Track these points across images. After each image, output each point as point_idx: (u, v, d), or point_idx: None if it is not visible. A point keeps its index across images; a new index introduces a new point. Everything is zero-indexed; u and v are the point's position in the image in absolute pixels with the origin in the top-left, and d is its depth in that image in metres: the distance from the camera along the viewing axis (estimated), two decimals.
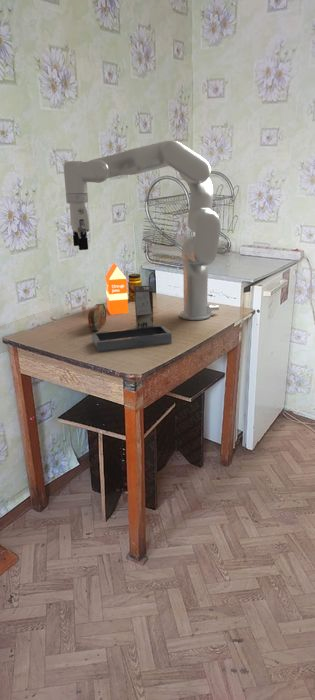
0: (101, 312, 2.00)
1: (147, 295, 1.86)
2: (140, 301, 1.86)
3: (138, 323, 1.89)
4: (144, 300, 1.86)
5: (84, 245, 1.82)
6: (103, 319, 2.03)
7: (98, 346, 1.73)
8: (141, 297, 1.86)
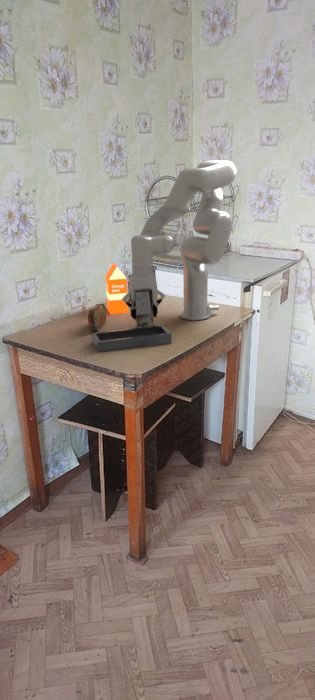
0: (101, 312, 2.00)
1: (147, 295, 1.86)
2: (140, 301, 1.86)
3: (138, 323, 1.89)
4: (144, 300, 1.86)
5: None
6: (103, 319, 2.03)
7: (98, 346, 1.73)
8: (141, 297, 1.86)
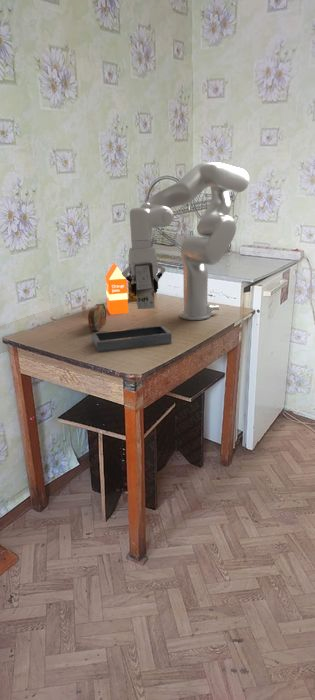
0: (101, 312, 2.00)
1: (147, 269, 1.83)
2: (140, 275, 1.83)
3: (139, 298, 1.86)
4: (144, 274, 1.83)
5: None
6: (103, 319, 2.03)
7: (98, 346, 1.73)
8: (141, 271, 1.83)
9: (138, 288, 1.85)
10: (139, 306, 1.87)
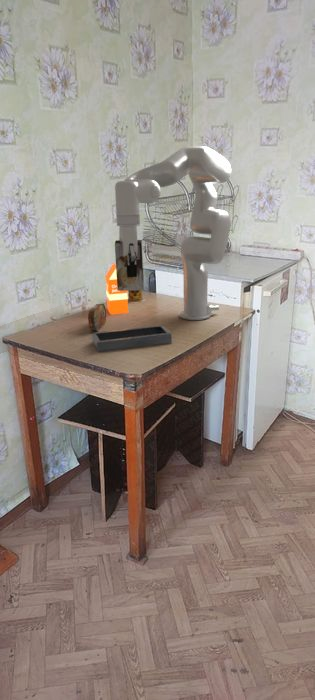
0: (101, 312, 2.00)
1: None
2: None
3: (143, 277, 1.73)
4: None
5: None
6: (103, 319, 2.03)
7: (98, 346, 1.73)
8: None
9: (142, 267, 1.72)
10: (143, 286, 1.74)
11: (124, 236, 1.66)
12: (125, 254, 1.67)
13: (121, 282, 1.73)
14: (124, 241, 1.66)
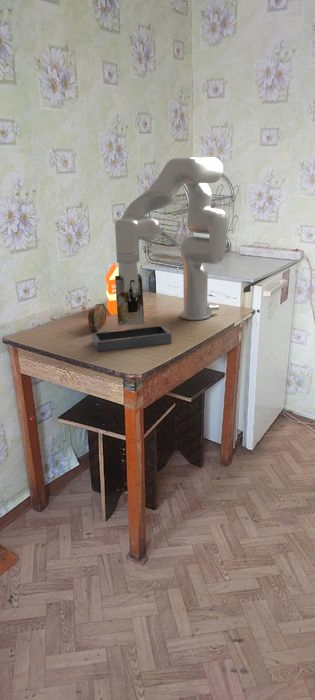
0: (101, 312, 2.00)
1: None
2: None
3: (143, 312, 1.76)
4: None
5: None
6: (103, 319, 2.03)
7: (98, 346, 1.73)
8: None
9: None
10: None
11: (125, 273, 1.68)
12: (126, 290, 1.70)
13: (122, 317, 1.75)
14: (125, 278, 1.69)
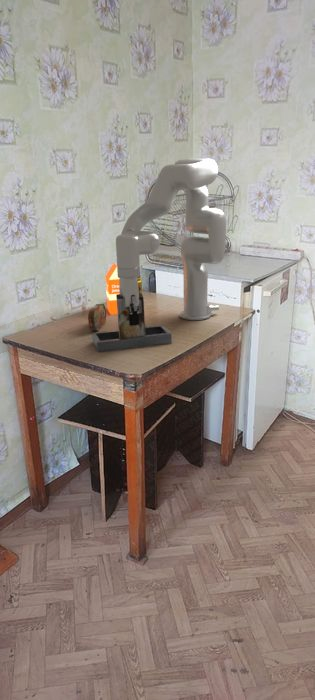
0: (101, 312, 2.00)
1: None
2: None
3: None
4: None
5: None
6: (103, 319, 2.03)
7: (98, 346, 1.73)
8: None
9: (144, 319, 1.77)
10: None
11: (126, 288, 1.70)
12: (127, 305, 1.72)
13: (123, 335, 1.78)
14: (126, 293, 1.70)
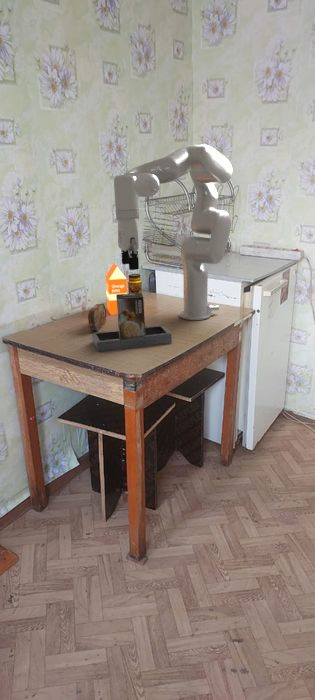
0: (101, 312, 2.00)
1: None
2: None
3: None
4: None
5: None
6: (103, 319, 2.03)
7: (98, 346, 1.73)
8: None
9: (144, 319, 1.77)
10: None
11: (125, 230, 1.66)
12: (126, 248, 1.68)
13: (123, 335, 1.78)
14: (125, 235, 1.67)
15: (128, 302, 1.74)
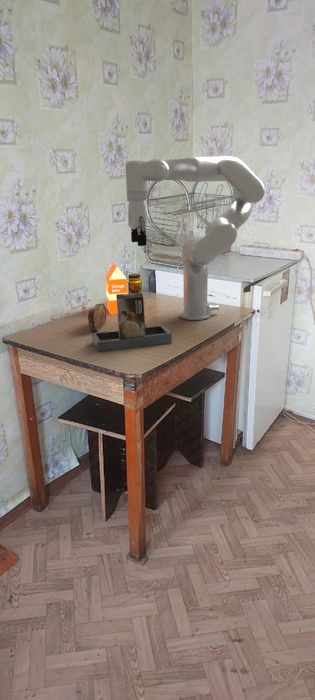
0: (101, 312, 2.00)
1: None
2: None
3: None
4: None
5: None
6: (103, 319, 2.03)
7: (98, 346, 1.73)
8: None
9: (144, 319, 1.77)
10: None
11: (135, 210, 1.86)
12: (136, 226, 1.88)
13: (123, 335, 1.78)
14: (135, 214, 1.87)
15: (128, 302, 1.74)
